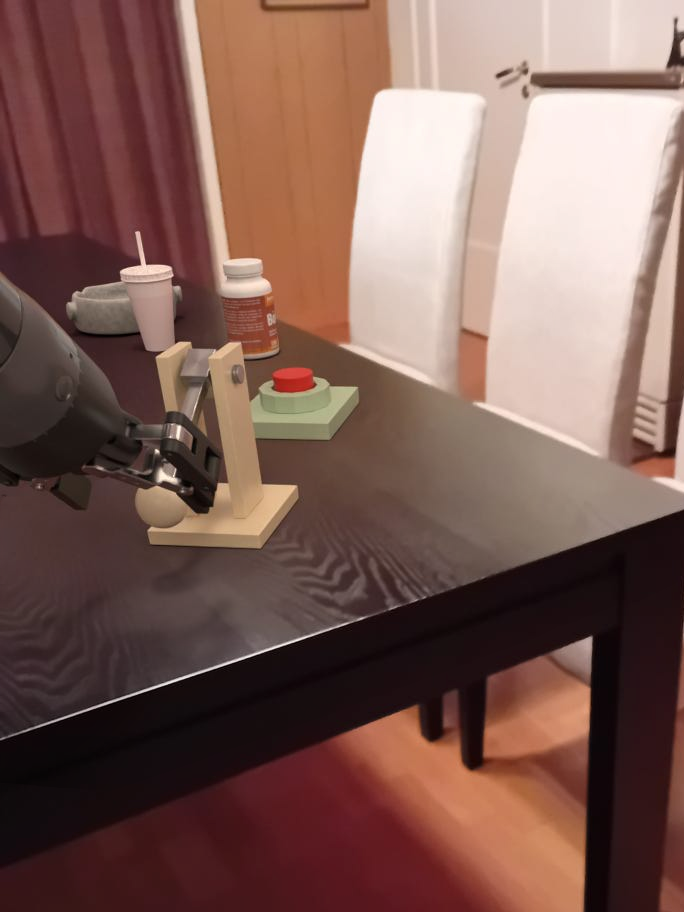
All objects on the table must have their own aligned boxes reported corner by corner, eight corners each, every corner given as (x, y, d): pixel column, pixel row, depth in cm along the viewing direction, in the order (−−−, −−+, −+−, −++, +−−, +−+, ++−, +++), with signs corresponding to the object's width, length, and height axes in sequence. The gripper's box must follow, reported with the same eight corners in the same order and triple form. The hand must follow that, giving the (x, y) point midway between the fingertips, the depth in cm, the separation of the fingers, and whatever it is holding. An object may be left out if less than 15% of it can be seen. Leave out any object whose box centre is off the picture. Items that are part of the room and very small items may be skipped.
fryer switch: (260, 548, 77) (233, 369, 70) (149, 544, 78) (111, 367, 71) (299, 498, 85) (278, 333, 78) (198, 495, 87) (168, 332, 80)
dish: (192, 314, 147) (186, 278, 144) (157, 338, 135) (150, 299, 132) (97, 314, 148) (89, 278, 145) (54, 338, 136) (45, 300, 134)
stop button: (308, 396, 100) (306, 378, 99) (269, 395, 101) (267, 378, 100) (319, 384, 104) (317, 367, 103) (281, 383, 104) (279, 366, 103)
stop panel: (329, 440, 98) (326, 405, 96) (231, 438, 99) (225, 403, 97) (359, 402, 108) (356, 369, 106) (269, 400, 109) (265, 368, 108)
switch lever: (189, 539, 70) (170, 508, 67) (140, 537, 71) (120, 507, 68) (237, 377, 78) (222, 342, 75) (193, 376, 78) (176, 341, 75)
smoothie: (174, 338, 134) (154, 226, 127) (193, 348, 130) (174, 232, 123) (127, 347, 131) (104, 232, 124) (145, 357, 126) (122, 238, 119)
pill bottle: (282, 357, 124) (270, 263, 119) (232, 363, 123) (217, 267, 117) (277, 345, 130) (265, 254, 124) (228, 350, 128) (214, 258, 123)
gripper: (150, 313, 52) (254, 449, 67) (-104, 311, 54) (55, 444, 69) (126, 447, 50) (239, 555, 65) (-136, 441, 52) (35, 548, 67)
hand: (144, 498), depth 67 cm, fingers open, 8 cm apart
